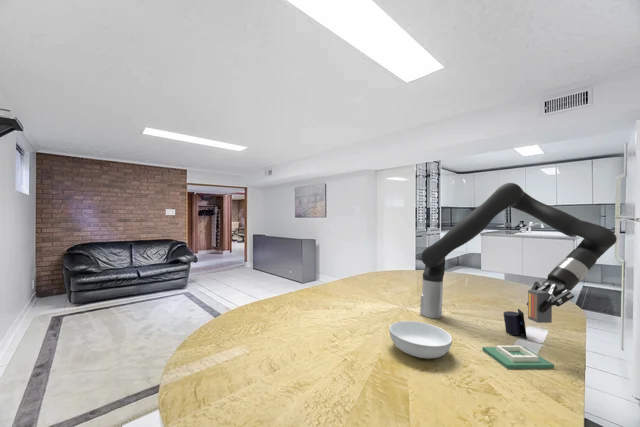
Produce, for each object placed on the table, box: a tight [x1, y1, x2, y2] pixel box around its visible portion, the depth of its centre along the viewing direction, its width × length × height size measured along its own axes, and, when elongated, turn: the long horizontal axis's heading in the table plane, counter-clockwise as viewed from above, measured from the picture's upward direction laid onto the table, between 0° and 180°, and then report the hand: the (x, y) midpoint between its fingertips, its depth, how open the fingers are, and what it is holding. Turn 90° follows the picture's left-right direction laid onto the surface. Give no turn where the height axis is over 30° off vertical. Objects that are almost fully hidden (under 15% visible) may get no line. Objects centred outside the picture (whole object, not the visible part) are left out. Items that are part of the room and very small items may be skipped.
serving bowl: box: [388, 320, 453, 359], centre depth 99 cm, size 21×21×7 cm
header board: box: [482, 345, 555, 370], centre depth 96 cm, size 16×12×3 cm
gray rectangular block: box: [527, 289, 553, 324], centre depth 96 cm, size 5×4×10 cm
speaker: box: [503, 308, 528, 340], centre depth 117 cm, size 8×6×10 cm
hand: (534, 308), depth 96 cm, fingers closed on gray rectangular block, 4 cm apart
